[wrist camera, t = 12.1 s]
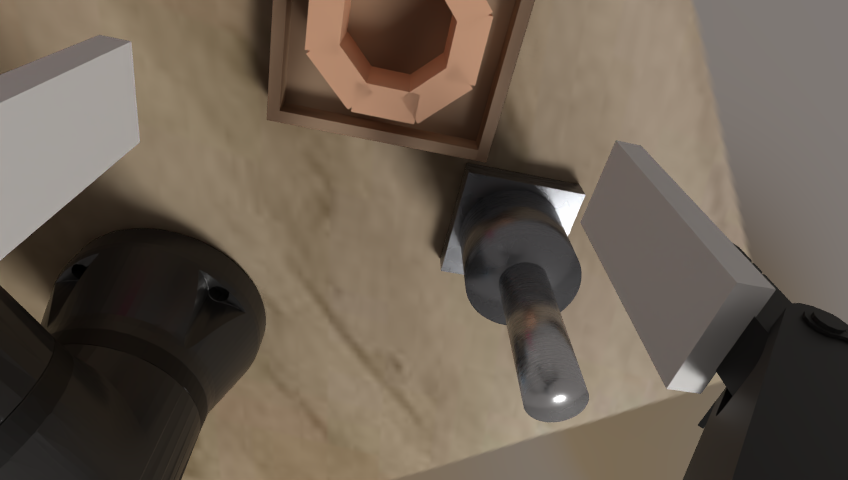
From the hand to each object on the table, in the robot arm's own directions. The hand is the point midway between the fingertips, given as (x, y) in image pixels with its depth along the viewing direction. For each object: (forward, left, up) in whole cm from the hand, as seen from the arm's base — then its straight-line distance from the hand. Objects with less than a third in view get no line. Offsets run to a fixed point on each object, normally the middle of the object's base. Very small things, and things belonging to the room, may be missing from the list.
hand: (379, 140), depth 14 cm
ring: (0, 0, -18) cm, 18 cm away
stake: (+10, -12, -19) cm, 24 cm away
